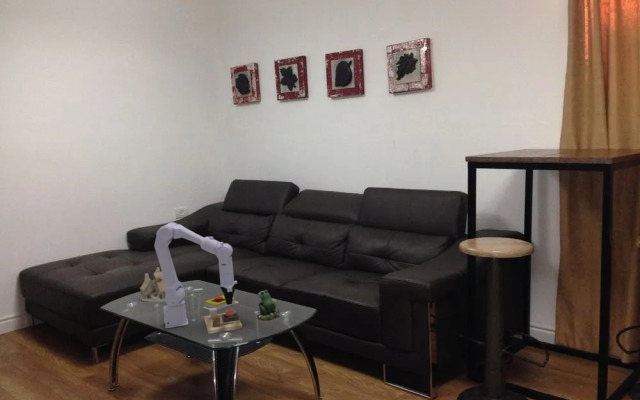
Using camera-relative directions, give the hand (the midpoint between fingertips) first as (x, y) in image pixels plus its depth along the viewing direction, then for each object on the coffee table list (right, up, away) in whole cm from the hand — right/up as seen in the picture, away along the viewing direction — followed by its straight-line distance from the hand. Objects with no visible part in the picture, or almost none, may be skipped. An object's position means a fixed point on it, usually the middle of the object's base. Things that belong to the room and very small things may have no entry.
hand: (229, 303), depth 234 cm
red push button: (0, -5, +1) cm, 5 cm away
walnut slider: (-4, -8, -6) cm, 11 cm away
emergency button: (-8, -6, +25) cm, 27 cm away
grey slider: (-7, -7, +4) cm, 11 cm away
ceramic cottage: (-43, -5, +41) cm, 60 cm away
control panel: (-3, -9, 0) cm, 9 cm away
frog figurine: (+16, -7, +7) cm, 19 cm away
